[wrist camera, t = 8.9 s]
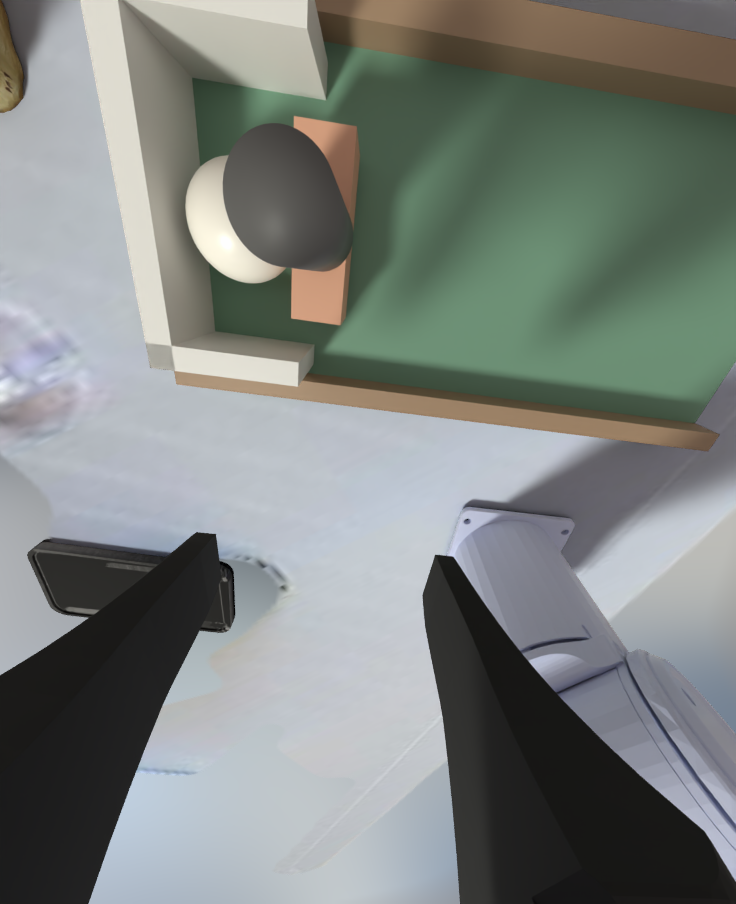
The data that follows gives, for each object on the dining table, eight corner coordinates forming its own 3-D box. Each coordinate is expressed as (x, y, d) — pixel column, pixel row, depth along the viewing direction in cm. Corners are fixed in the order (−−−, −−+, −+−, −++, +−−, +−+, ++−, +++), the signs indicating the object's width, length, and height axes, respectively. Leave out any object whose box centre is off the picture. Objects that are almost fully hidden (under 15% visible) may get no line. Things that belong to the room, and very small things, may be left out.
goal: (313, 364, 17) (298, 386, 13) (197, 348, 17) (150, 368, 13) (327, 62, 12) (308, -30, 8) (160, 33, 12) (65, -75, 8)
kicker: (349, 318, 16) (328, 354, 8) (300, 311, 16) (233, 341, 8) (364, 156, 13) (353, -10, 5) (304, 146, 13) (207, -38, 5)
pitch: (670, 431, 20) (708, 451, 17) (200, 371, 18) (176, 384, 16) (867, 117, 13) (969, 83, 11) (154, -13, 12) (103, -80, 9)
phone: (231, 634, 29) (52, 613, 28) (236, 622, 30) (64, 602, 29) (227, 572, 25) (22, 546, 24) (233, 561, 26) (36, 535, 25)
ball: (268, 282, 16) (314, 292, 14) (179, 273, 13) (215, 283, 11) (266, 179, 14) (320, 169, 12) (162, 145, 12) (202, 124, 9)
